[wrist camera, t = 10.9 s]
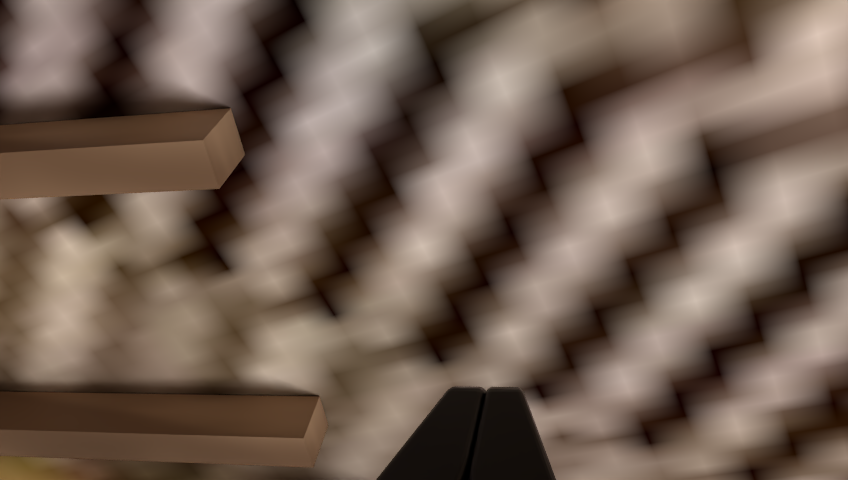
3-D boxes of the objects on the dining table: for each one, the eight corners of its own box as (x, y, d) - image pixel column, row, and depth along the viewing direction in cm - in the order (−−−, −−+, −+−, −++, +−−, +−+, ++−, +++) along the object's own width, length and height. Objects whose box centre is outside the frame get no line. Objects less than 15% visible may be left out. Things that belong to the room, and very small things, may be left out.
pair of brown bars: (328, 425, 30) (313, 467, 28) (-31, 416, 33) (-62, 453, 31) (230, 108, 22) (203, 140, 21) (-212, 140, 26) (-265, 169, 24)
